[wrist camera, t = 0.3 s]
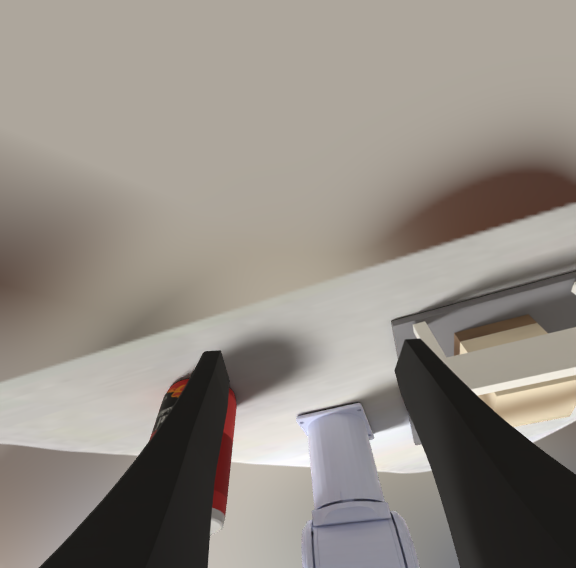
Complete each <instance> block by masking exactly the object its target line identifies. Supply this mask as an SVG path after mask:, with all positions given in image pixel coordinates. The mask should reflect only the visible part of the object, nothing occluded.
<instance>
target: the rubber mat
mask: <svg viewBox="0 0 576 568" xmlns="http://www.w3.org/2000/svg"><path fill="white" fill-rule="evenodd" d="M574 282H576V272H572V273H568V274H564V275H561V276H557V277H553V278H550V279H546V280H542V281H538V282H535V283H531V284H527V285H523V286H520V287H516V288H512V289H509V290H505V291H501V292H497V293H494V294H490V295H486V296H483V297H479V298H475V299H471V300H468V301H464V302H460V303H457V304H453V305H449V306H445V307H442V308H438V309H434V310H431V311H427V312H423V313H419V314H416V315H412V316H408V317H405V318H401V319H397V320H393V321H391V324H392V330H393V335H394V340H395V345H396V350H397V356H398V359H399V356H400V353H401V350H402V346H403V343H404V340H405V339H417V337H416V336H415V334H414V331H413V324H417V323H421V322H424V321H425V322H426V324H427V325H428V327H429V329H430V330H431V332H432V334H433V335H434V337H435V339H436V341H437V342H438V344H439V346H440V347H441V349H442V351H443V352H444V354H445V356H446V357H452V356H454V333H456V332H460V331H464V330H468V329H472V328H476V327H480V326H484V325H488V324H492V323H496V322H500V321H504V320H508V319H512V318H516V317H520V316H524V315H527V314H529V315H530V316H531V317H532V318H533V319H534V320H535V321H536V322H537V323H538V324H539V325H540V326H541V327H542V328H543V329H544V330H545V331H546V332H547V333H553V332H557V331H561V330H565V329H569V328H574V327H576V295H575V294H574V293H573V292H571V290H572V288H573V285H574ZM408 413H409V412H408ZM409 418H410V424H411V429H412V434H413V439H414V443H415V445H420V444H422V443H421V441H420V439H419V436H418V434H417V432H416V429H415V427H414V424H413V422H412V420H411V417H410V415H409ZM526 425H527V424H526Z"/></svg>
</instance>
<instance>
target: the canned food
mask: <svg viewBox="0 0 576 568" xmlns="http://www.w3.org/2000/svg"><path fill="white" fill-rule="evenodd" d="M189 379H190V378H189ZM189 379H185V380H182V381H179V382H177V383H175V384H174V385H172V386H171V387H170V389H169V390H168V392H167V393H166V394H165V396H164V398H163V401H162V404H161V407H160V410H159V413H158V416H157V419H156V422H155V425H154V428H153V431H152V434H151V437H150V440H151V438H152V437H153V435H154V434H155V433H156V431H157V430H158V428H159V427H160V425H161V424H162V422H163V421H164V419H165V418H166V416H167V415H168V413H169V412H170V410H171V409H172V407H173V405H174V404H175V402H176V400H177V399H178V397H179V396H180V394H181V392H182V391H183V389H184V387H185V386H186V384H187V382H188V380H189ZM236 406H237V404H236V399H235V395H234V393H233V391H232V390H231V389H230V388H229V397H228V408H227V414H226V420H225V425H224V431H223V436H222V442H221V447H220V453H219V458H218V464H217V470H216V476H215V484H214V495H213V505H212V516H211V528H210V535H212V534H215V533H217V532H218V531H220V530H221V529H222V528H223V524H224V520H225V513H226V504H227V496H228V486H229V476H230V465H231V456H232V446H233V436H234V426H235V416H236ZM150 440H149V441H150Z"/></svg>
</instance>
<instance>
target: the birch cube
mask: <svg viewBox="0 0 576 568" xmlns="http://www.w3.org/2000/svg"><path fill="white" fill-rule="evenodd" d="M544 334H548V333H547V332H546V331H545V330H544V329H543V328H542V327H541V326H540V325H539V324H538V323H537V322H536V321H535V320H534V319H533V318H532V317H531V316H530V315H529V314H527V315H524V316H520V317H516V318H512V319H508V320H504V321H500V322H496V323H492V324H488V325H484V326H480V327H476V328H472V329H468V330H464V331H460V332H456V333H454V356H456V355H460V354H464V353H468V352H473V351H477V350H481V349H485V348H489V347H494V346H498V345H502V344H506V343H510V342H515V341H519V340H523V339H527V338H532V337H536V336H540V335H544ZM478 397H479V398H480V399H482V400H483V401H484V402H485V403H486V404H487V405H488V406H489V407H490V408H492V409H493V410H494V411H495V412H496V413H497V414H498V415H499V416H501V417H502V418H503V419H504V420H505V421H506V422H508V423H509V424H510V425H511V426H512V427H516V426H521V425H526V424H532V423H537V422H543V421H548V420H553V419H559V418H564V417H569V416H570V415H571V413H572V411H573V410H574V408H575V406H576V375H573V376H568V377H563V378H559V379H554V380H549V381H544V382H540V383H535V384H530V385H525V386H521V387H516V388H511V389H506V390H502V391H497V392H492V393H487V394H483V395H478Z"/></svg>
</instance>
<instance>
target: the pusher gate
mask: <svg viewBox="0 0 576 568" xmlns="http://www.w3.org/2000/svg"><path fill="white" fill-rule="evenodd" d="M571 292H573V293H574V294H575V295H576V282H574V285H573V288H572V290H571ZM413 331H414V334H415V336H416V337H417V339H419V338H420V339H421V340H423V341H424V343H425V344H426V345H427V346H428V347H429V348H430V349H431V350H432V351H433V352H434V353H435V354H436V355H437V356H438V357H439V358H440V359H441V360H442V361H443V362H444V363H445V364H446V365H447V366H448V367H449V368H450V369H451V370H452V371H453V372H454V373H455V374H456V375H457V376H458V377H459V378H460V379H461V380H462V381H463V382H464V383H465V384H466V385H467V386H468V387H469V388H470V389H471V390H472V391H473V392H474V393H475V394H476V395H477V396H478V395H483V394H487V393H492V392H497V391H502V390H506V389H511V388H516V387H521V386H525V385H530V384H535V383H540V382H544V381H549V380H554V379H559V378H563V377H568V376H573V375H576V327H574V328H569V329H565V330H561V331H557V332H553V333H548V334H544V335H540V336H536V337H532V338H527V339H523V340H519V341H515V342H510V343H506V344H502V345H498V346H494V347H489V348H485V349H481V350H477V351H473V352H468V353H464V354H460V355H456V356H452V357H446V356H445V354H444V352H443V351H442V349H441V347H440V346H439V344H438V342H437V341H436V339H435V337H434V335H433V334H432V332H431V330H430V329H429V327H428V325H427V324H426V322H425V321H424V322H421V323H417V324H413Z"/></svg>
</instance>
